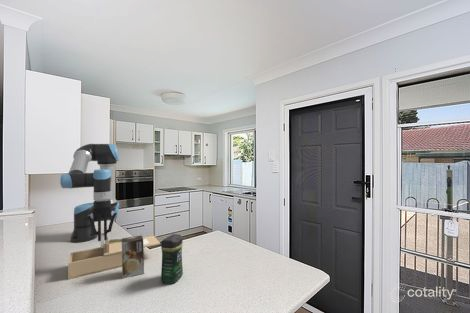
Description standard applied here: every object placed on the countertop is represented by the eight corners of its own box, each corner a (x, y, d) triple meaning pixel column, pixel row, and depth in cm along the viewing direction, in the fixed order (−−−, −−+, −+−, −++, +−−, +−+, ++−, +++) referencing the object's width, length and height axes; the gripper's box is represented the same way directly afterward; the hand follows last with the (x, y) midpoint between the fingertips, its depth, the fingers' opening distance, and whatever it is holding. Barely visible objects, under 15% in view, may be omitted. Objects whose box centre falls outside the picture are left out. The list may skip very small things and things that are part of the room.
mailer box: (71, 267, 110) (71, 252, 110) (128, 254, 124) (128, 241, 124) (68, 279, 98) (68, 263, 99) (132, 264, 112) (132, 250, 112)
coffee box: (142, 268, 108) (142, 234, 109) (144, 273, 103) (144, 238, 103) (121, 272, 104) (121, 238, 104) (121, 279, 98) (121, 242, 99)
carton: (95, 257, 123) (95, 249, 123) (110, 245, 139) (110, 238, 139) (111, 256, 123) (111, 248, 123) (124, 245, 139) (124, 238, 139)
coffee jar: (175, 285, 92) (174, 240, 93) (158, 283, 94) (157, 239, 95) (185, 274, 102) (185, 233, 102) (170, 272, 104) (169, 232, 104)
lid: (103, 246, 118) (103, 237, 118) (154, 236, 132) (154, 228, 132) (104, 255, 106) (104, 246, 106) (160, 244, 120) (160, 235, 120)
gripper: (86, 202, 105) (86, 252, 105) (117, 199, 112) (117, 246, 112) (86, 200, 112) (87, 247, 111) (116, 197, 119) (116, 242, 118)
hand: (102, 247), depth 112 cm, fingers closed
